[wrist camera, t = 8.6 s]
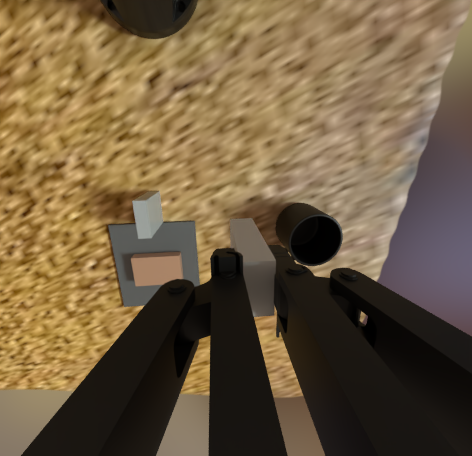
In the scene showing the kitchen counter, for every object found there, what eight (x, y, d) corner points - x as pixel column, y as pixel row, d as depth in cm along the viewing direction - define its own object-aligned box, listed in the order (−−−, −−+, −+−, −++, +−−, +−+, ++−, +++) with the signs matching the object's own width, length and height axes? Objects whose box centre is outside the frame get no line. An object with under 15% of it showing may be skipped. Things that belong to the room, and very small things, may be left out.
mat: (109, 224, 44) (108, 225, 44) (194, 220, 46) (194, 221, 45) (125, 305, 50) (124, 306, 49) (200, 299, 51) (200, 301, 51)
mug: (258, 241, 48) (268, 261, 40) (294, 193, 46) (312, 202, 37) (293, 263, 51) (309, 286, 42) (329, 218, 48) (354, 233, 39)
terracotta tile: (181, 251, 47) (134, 253, 46) (179, 255, 45) (130, 258, 44) (183, 277, 49) (139, 280, 48) (182, 283, 46) (135, 286, 46)
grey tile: (147, 191, 43) (130, 200, 35) (159, 191, 43) (146, 200, 35) (151, 222, 45) (137, 238, 36) (163, 222, 45) (151, 238, 37)
